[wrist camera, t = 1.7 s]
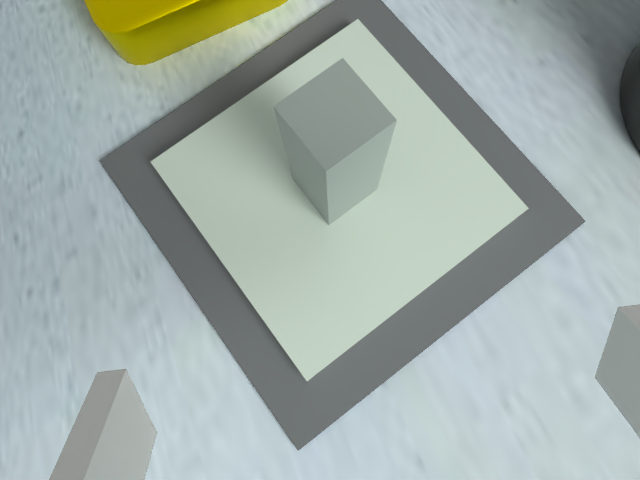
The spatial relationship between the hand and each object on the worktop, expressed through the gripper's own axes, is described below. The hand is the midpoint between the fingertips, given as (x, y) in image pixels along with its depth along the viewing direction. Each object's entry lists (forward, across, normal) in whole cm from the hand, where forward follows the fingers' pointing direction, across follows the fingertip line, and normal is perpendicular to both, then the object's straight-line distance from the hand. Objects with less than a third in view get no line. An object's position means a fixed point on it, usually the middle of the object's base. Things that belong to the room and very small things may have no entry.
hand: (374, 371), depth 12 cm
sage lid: (+20, 0, -4) cm, 20 cm away
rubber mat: (+20, 0, -4) cm, 20 cm away
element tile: (+35, -9, +10) cm, 38 cm away
